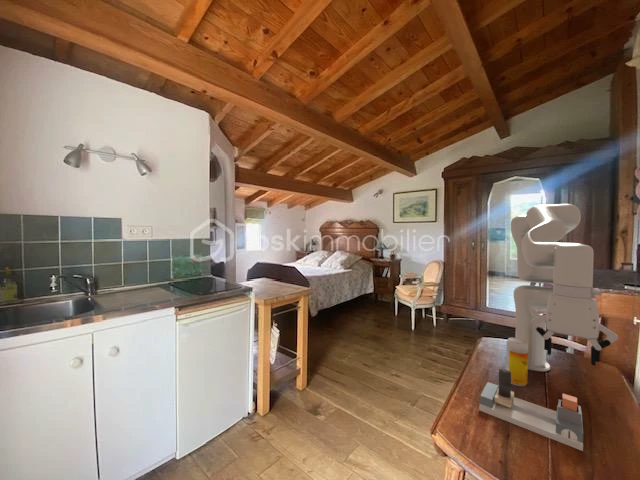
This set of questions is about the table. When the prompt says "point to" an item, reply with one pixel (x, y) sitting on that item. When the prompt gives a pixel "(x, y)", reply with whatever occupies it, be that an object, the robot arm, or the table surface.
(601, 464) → the table surface
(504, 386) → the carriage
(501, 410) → the rail base
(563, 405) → the button
